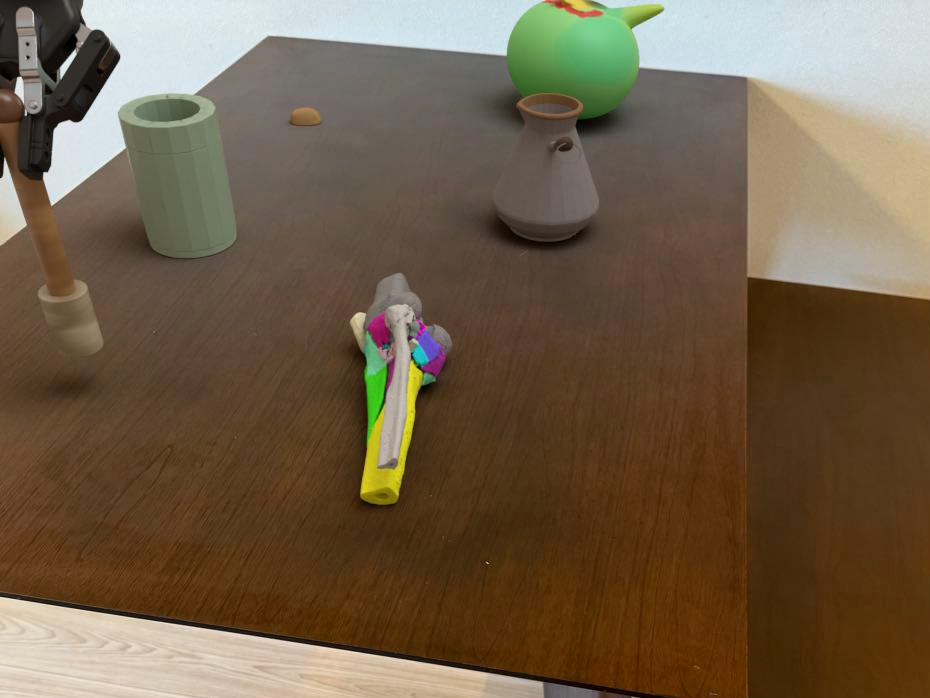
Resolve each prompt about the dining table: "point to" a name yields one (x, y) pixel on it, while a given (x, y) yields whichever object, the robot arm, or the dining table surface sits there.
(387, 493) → the knee model
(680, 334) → the dining table surface
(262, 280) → the dining table surface
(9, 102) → the wooden pestle
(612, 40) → the toy bird
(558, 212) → the coffee pot
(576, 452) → the dining table surface
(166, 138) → the pale green cup
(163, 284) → the dining table surface
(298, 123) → the potato
